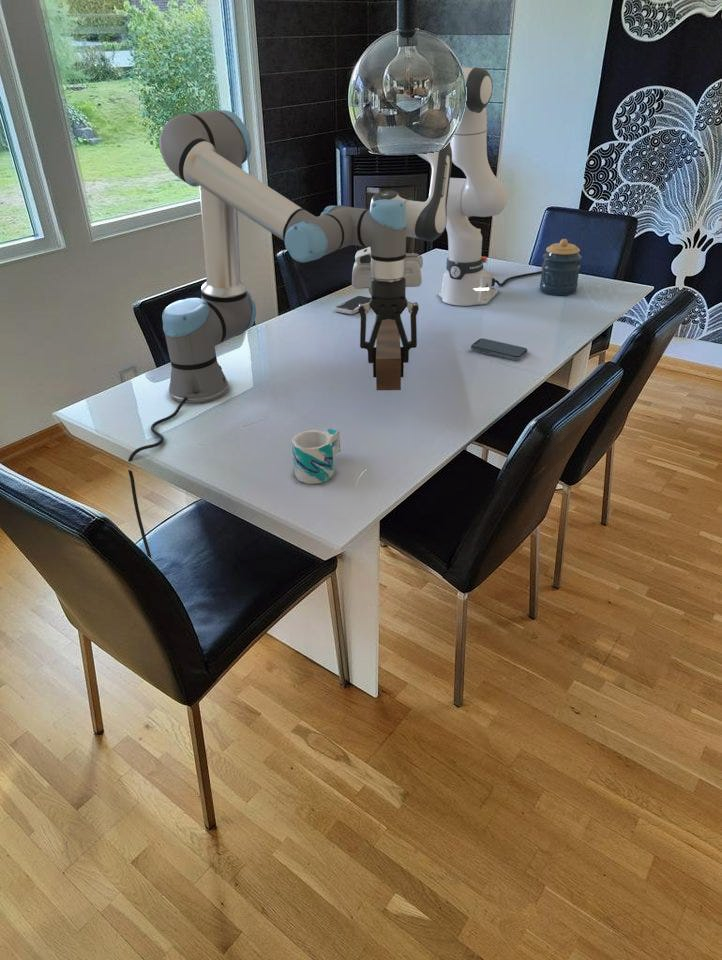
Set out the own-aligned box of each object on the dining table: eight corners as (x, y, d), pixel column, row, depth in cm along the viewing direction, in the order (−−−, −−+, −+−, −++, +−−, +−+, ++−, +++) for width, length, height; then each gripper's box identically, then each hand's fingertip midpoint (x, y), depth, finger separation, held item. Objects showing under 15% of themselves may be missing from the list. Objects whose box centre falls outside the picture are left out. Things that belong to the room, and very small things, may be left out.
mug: (287, 476, 140) (283, 442, 136) (320, 451, 149) (318, 418, 144) (319, 487, 137) (316, 452, 132) (351, 460, 145) (350, 426, 140)
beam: (400, 390, 153) (401, 358, 148) (376, 390, 153) (375, 358, 149) (396, 302, 205) (396, 277, 201) (377, 302, 205) (377, 277, 201)
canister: (550, 297, 232) (557, 245, 222) (532, 287, 242) (537, 236, 233) (584, 293, 235) (591, 241, 225) (564, 283, 245) (571, 233, 236)
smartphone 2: (518, 357, 186) (469, 345, 193) (518, 362, 187) (469, 351, 194) (528, 347, 191) (480, 337, 198) (528, 353, 192) (480, 342, 199)
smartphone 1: (376, 298, 233) (351, 311, 223) (376, 302, 234) (352, 315, 224) (358, 295, 237) (333, 307, 227) (358, 299, 238) (333, 311, 228)
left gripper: (430, 271, 149) (426, 368, 161) (346, 272, 149) (349, 368, 162) (432, 281, 142) (428, 381, 155) (344, 282, 143) (348, 382, 156)
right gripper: (422, 249, 192) (421, 297, 200) (351, 252, 193) (353, 299, 201) (423, 255, 187) (423, 304, 194) (350, 258, 188) (352, 306, 195)
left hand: (388, 374), depth 158 cm, fingers closed on beam, 6 cm apart
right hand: (387, 301), depth 197 cm, fingers closed on beam, 5 cm apart
